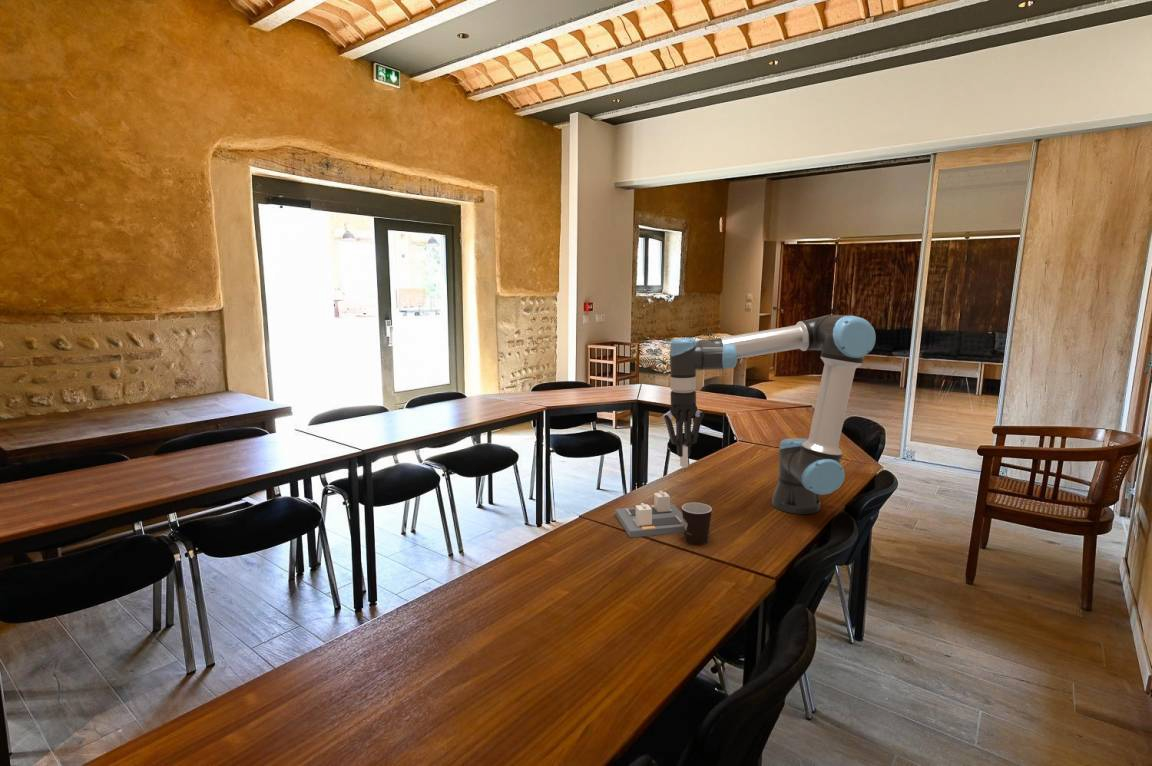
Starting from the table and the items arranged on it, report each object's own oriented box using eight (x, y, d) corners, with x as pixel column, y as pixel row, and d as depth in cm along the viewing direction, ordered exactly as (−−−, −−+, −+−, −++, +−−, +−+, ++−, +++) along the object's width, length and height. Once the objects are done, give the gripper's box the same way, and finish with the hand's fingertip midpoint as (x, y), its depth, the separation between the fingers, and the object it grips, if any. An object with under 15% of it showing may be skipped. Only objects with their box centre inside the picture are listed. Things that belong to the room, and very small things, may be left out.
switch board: (673, 509, 189) (673, 502, 189) (693, 531, 172) (693, 523, 171) (615, 514, 186) (615, 507, 186) (630, 537, 168) (630, 529, 168)
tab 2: (648, 519, 176) (648, 501, 175) (651, 524, 172) (651, 506, 171) (635, 520, 175) (635, 502, 174) (639, 525, 171) (639, 507, 170)
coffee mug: (711, 548, 161) (712, 514, 159) (680, 545, 163) (681, 512, 161) (711, 531, 172) (711, 499, 170) (682, 529, 174) (682, 498, 172)
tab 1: (665, 506, 186) (665, 489, 185) (669, 511, 182) (669, 494, 181) (654, 507, 185) (654, 490, 184) (657, 512, 181) (658, 495, 180)
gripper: (698, 386, 174) (699, 460, 178) (658, 389, 172) (659, 464, 175) (708, 390, 167) (709, 467, 170) (666, 394, 164) (667, 472, 168)
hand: (683, 466), depth 173 cm, fingers closed
